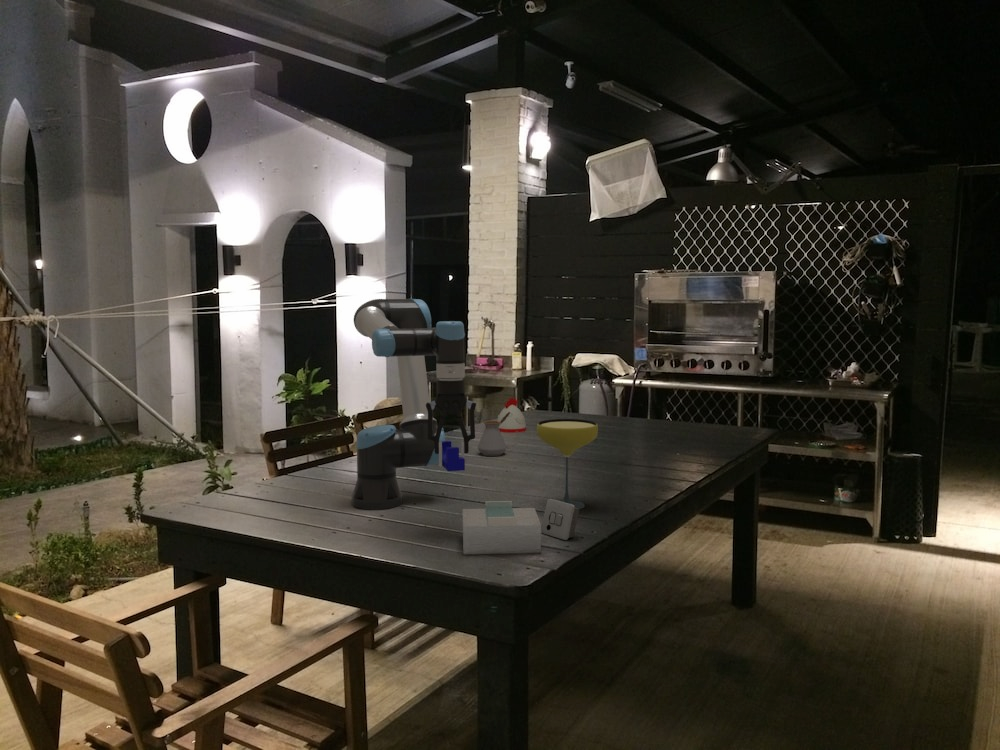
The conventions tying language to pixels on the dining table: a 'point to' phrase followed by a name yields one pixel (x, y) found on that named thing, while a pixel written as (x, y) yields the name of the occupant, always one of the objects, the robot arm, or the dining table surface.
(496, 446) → the coffee pot
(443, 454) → the blue stepped piece
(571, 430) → the cocktail glass
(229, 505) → the dining table surface
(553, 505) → the electrical switch
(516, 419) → the kitchen timer
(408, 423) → the robot arm
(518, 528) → the white boxy block
